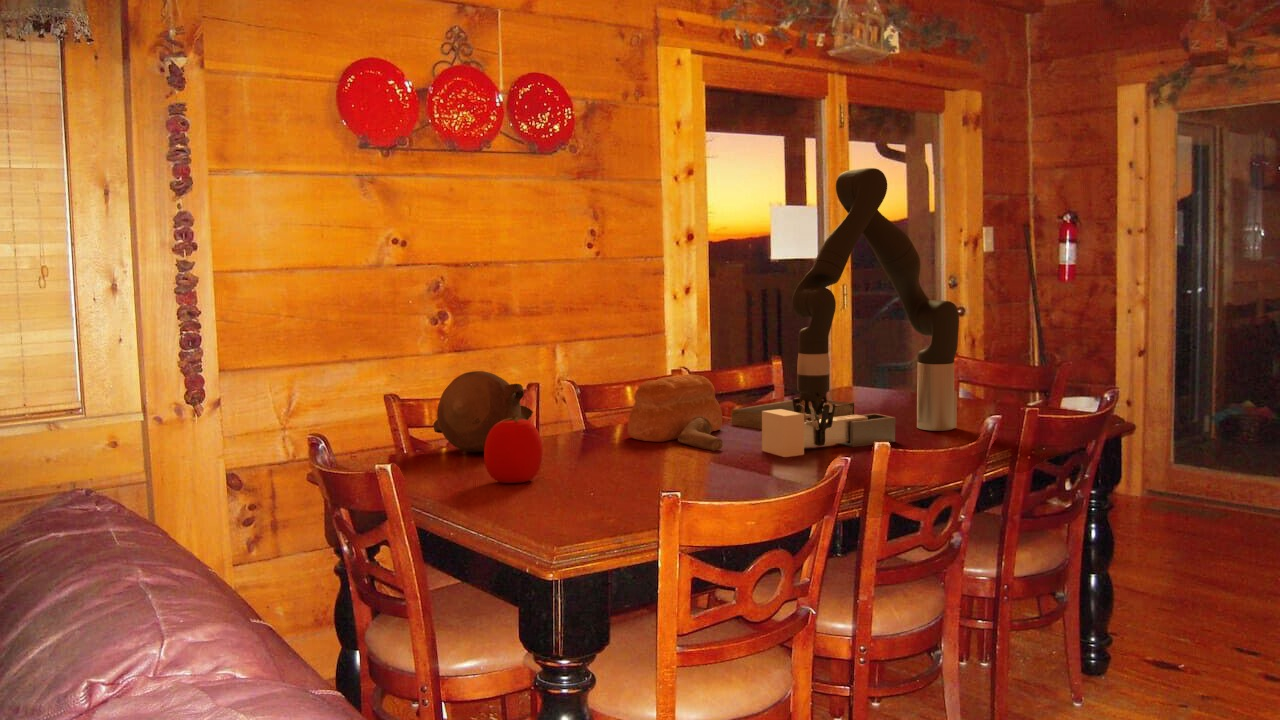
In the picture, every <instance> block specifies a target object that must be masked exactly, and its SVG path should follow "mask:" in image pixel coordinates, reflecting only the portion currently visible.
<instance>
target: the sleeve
mask: <svg viewBox="0 0 1280 720" xmlns="http://www.w3.org/2000/svg"><path fill="white" fill-rule="evenodd" d="M860 415H861V416H866V417H868V420H861V421H853V422H850V442H844V443H837V444H839V445H842V446H847V447H850V448H858V447H865V446H871V445H872V444H873V442H874V441H879V440H886V441H890V442H889V443H895V442H896V416H890V415H885V414H880V413H869V414H867V413H866V414H860ZM872 446H873V445H872Z"/></svg>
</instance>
